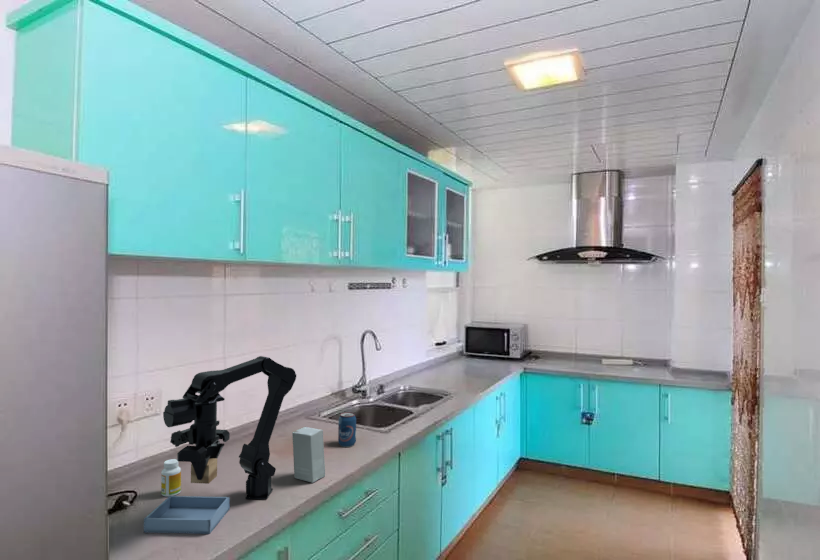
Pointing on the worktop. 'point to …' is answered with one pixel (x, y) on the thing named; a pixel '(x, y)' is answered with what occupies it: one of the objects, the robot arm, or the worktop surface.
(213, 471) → the cube
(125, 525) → the worktop surface
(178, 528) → the tote
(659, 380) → the worktop surface
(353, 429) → the soda can
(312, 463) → the skincare box
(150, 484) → the worktop surface
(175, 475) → the supplement bottle
